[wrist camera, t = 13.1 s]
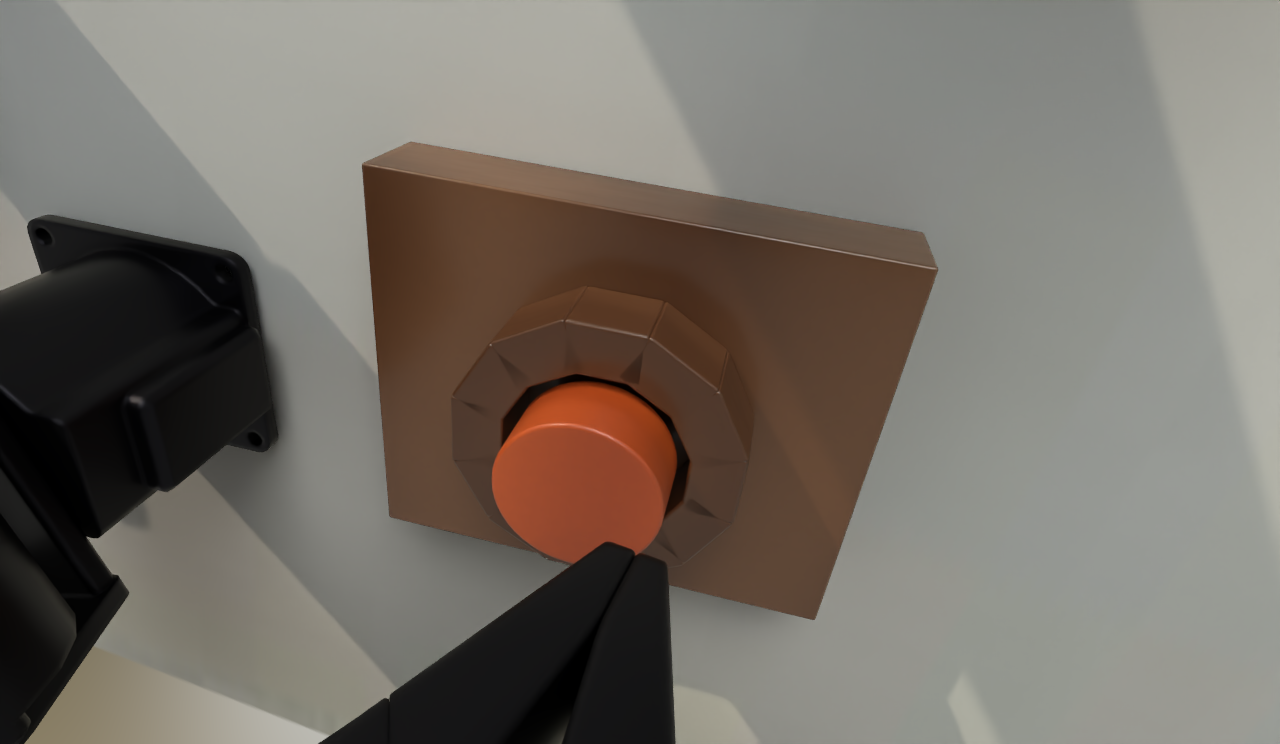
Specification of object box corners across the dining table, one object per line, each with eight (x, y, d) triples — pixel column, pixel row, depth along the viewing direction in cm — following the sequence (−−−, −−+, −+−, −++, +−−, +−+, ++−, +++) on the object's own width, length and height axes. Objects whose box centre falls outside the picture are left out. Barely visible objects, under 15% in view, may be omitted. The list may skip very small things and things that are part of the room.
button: (517, 494, 17) (488, 545, 16) (522, 363, 15) (490, 406, 14) (665, 529, 17) (651, 584, 15) (689, 398, 15) (676, 447, 13)
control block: (424, 470, 22) (354, 562, 19) (409, 141, 17) (310, 185, 14) (815, 562, 21) (815, 679, 18) (925, 231, 16) (955, 306, 12)
